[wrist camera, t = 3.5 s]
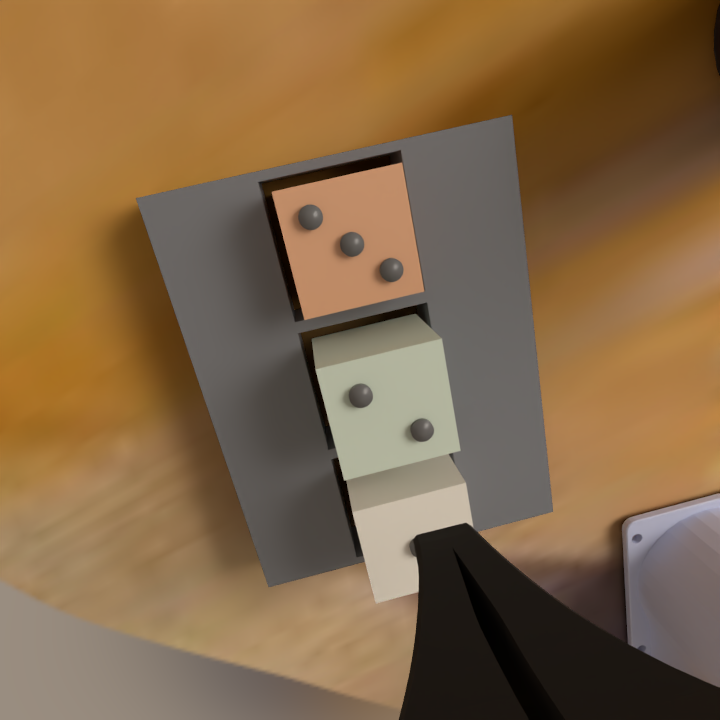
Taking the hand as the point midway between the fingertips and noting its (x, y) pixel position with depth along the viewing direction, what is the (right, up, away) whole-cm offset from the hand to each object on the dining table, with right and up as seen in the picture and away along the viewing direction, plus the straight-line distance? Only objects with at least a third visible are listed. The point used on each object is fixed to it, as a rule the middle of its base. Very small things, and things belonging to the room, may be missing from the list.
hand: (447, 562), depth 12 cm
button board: (-2, +5, +8) cm, 10 cm away
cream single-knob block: (-1, 0, +8) cm, 8 cm away
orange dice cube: (-3, +9, +6) cm, 11 cm away
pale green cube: (-2, +4, +7) cm, 8 cm away
